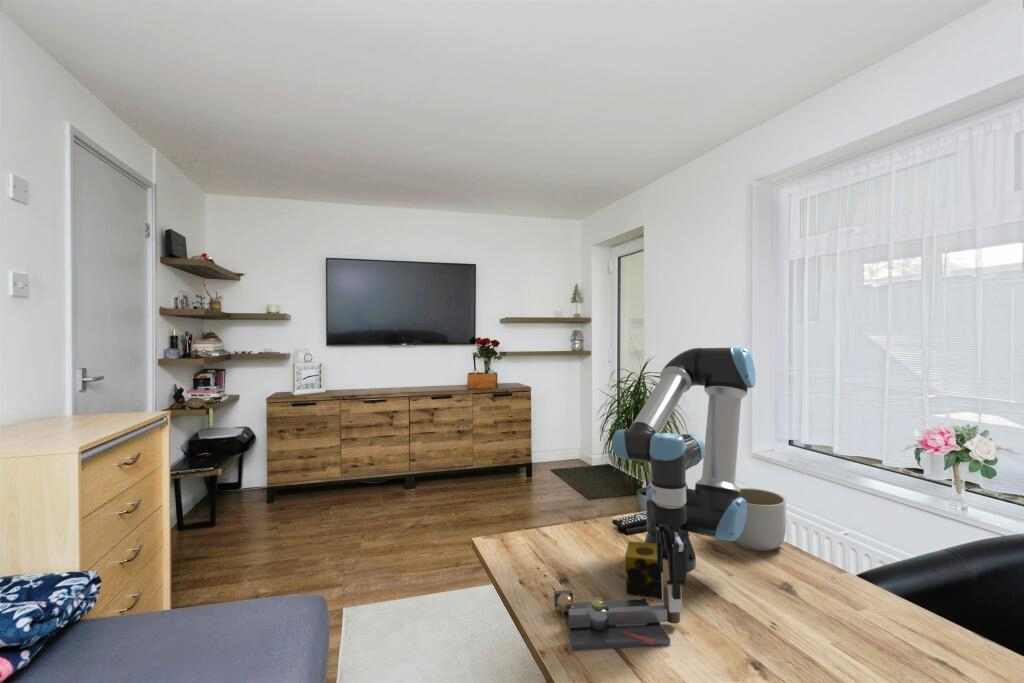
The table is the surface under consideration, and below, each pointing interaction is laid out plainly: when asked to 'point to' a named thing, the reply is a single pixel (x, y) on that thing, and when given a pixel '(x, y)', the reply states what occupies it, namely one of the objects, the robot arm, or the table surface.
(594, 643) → the base
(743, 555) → the table surface
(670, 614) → the lever
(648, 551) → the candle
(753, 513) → the planter
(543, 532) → the table surface
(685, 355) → the robot arm
